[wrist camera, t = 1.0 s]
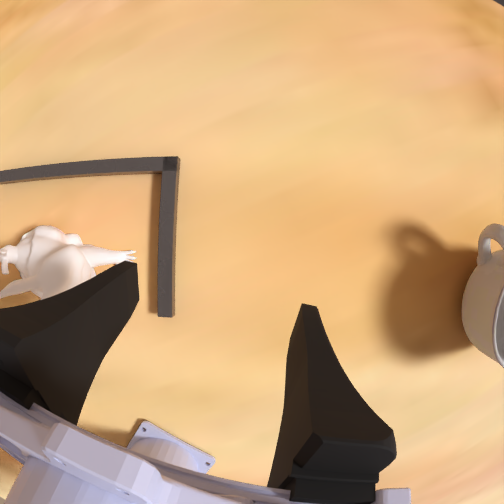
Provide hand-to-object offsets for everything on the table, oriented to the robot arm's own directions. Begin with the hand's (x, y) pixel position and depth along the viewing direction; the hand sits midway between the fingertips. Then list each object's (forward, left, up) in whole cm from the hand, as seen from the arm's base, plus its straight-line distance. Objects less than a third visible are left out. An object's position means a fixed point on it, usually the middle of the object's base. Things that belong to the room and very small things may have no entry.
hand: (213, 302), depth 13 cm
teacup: (+12, -22, -13) cm, 28 cm away
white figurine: (-8, +12, -13) cm, 20 cm away
